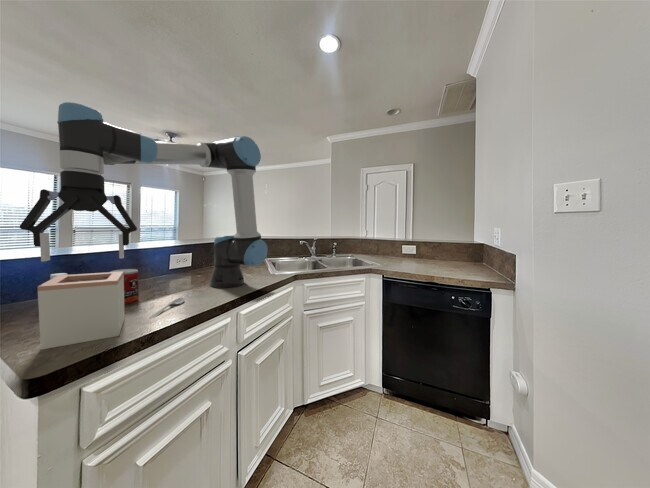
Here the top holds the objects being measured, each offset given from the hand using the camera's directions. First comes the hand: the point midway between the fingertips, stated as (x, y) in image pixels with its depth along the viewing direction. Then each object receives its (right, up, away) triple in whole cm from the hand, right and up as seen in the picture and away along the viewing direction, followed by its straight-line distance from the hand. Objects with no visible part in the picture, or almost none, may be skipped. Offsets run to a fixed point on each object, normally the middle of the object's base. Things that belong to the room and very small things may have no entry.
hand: (86, 259), depth 60 cm
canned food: (-11, -17, +25) cm, 33 cm away
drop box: (-1, -19, +1) cm, 19 cm away
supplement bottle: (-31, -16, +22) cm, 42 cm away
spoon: (+7, -18, +18) cm, 27 cm away
